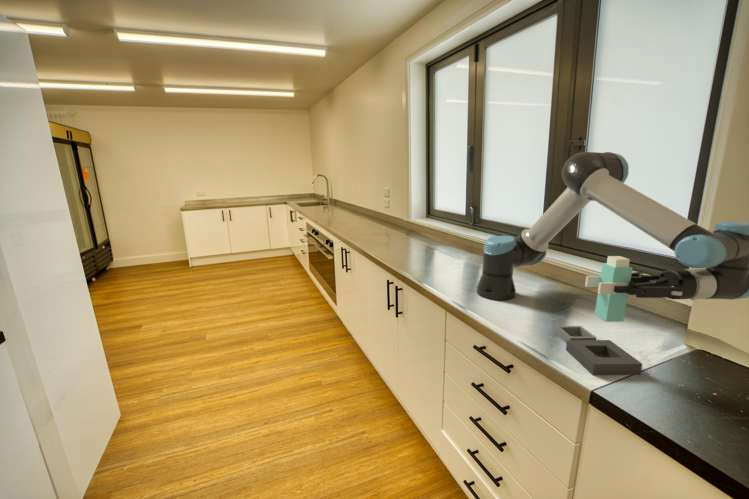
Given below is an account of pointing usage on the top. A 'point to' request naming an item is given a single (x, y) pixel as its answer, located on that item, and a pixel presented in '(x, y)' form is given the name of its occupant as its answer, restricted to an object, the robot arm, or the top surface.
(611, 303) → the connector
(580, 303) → the top surface
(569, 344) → the port block
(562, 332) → the grey square plate
